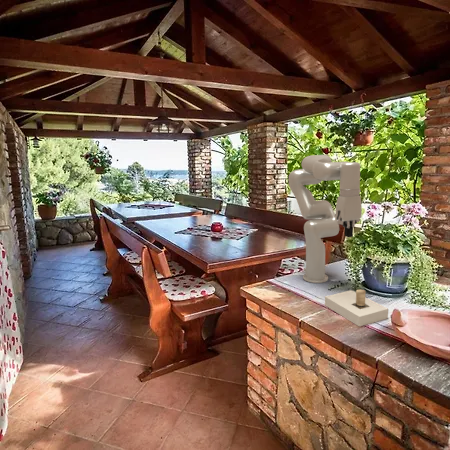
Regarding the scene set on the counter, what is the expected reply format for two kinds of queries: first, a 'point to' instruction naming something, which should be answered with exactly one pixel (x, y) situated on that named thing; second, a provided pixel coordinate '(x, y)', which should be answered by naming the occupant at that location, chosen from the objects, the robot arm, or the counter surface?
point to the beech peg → (360, 298)
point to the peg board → (347, 308)
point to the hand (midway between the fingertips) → (348, 236)
